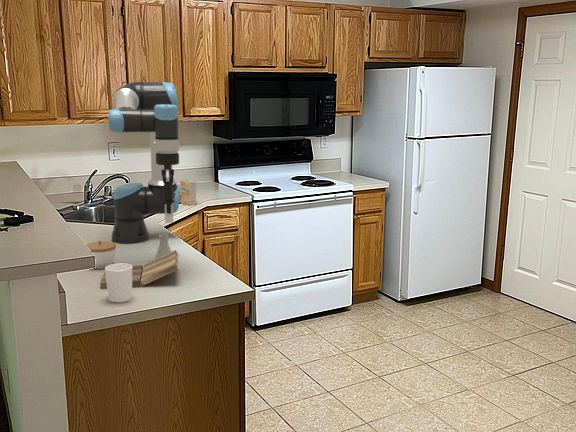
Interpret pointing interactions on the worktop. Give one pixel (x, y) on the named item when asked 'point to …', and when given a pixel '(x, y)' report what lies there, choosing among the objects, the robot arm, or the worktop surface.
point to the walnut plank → (136, 277)
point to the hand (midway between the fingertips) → (169, 222)
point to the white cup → (119, 282)
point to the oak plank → (159, 267)
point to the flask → (163, 246)
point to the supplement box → (188, 192)
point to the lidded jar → (103, 253)
